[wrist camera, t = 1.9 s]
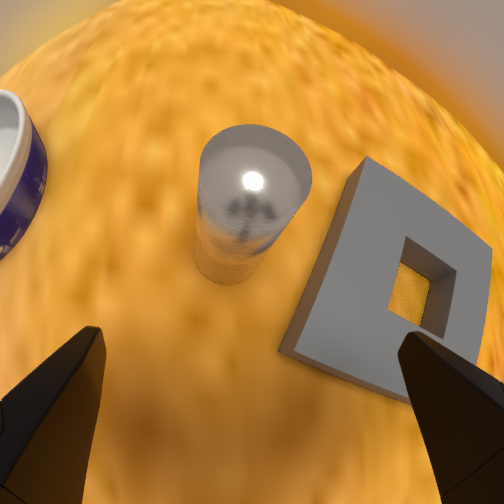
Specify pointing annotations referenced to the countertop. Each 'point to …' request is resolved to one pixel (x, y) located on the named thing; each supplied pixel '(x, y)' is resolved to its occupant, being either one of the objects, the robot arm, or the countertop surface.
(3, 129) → the dog bowl
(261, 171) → the peg
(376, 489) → the countertop surface
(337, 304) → the socket block
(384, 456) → the countertop surface
